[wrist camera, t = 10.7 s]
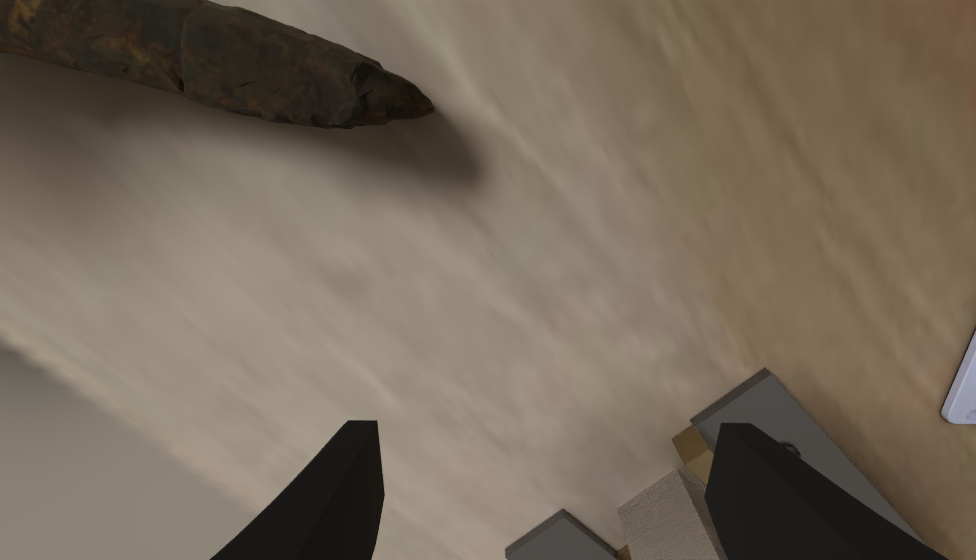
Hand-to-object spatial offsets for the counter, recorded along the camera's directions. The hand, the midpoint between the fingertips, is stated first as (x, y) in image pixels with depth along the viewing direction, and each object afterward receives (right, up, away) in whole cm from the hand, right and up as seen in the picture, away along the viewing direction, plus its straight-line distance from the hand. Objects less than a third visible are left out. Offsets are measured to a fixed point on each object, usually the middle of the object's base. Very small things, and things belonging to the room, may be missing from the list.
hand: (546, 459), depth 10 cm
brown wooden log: (-12, +12, +6) cm, 18 cm away
